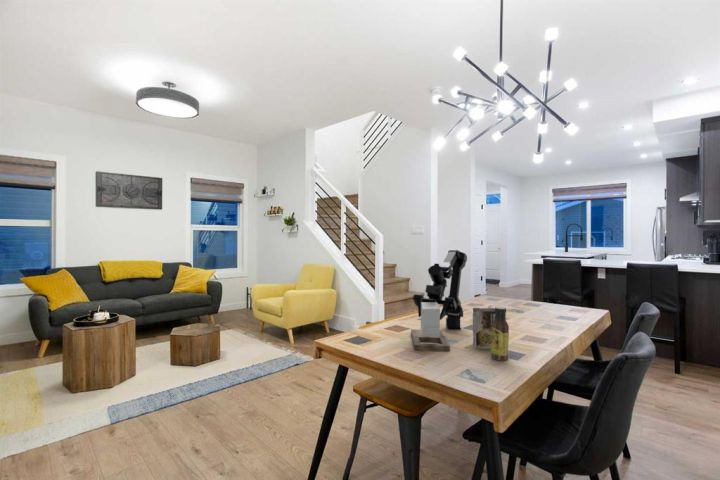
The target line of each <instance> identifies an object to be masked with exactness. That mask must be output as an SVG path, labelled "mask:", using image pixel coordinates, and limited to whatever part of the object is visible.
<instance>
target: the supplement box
mask: <svg viewBox="0 0 720 480" xmlns="http://www.w3.org/2000/svg"><path fill="white" fill-rule="evenodd" d="M440 314H441V308H440V305H439V304H438V303H437V302H421V316H420V330H421V331H422V335H423V336H439V334H440V330H441V328H440V323H441V320H440Z"/></svg>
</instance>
